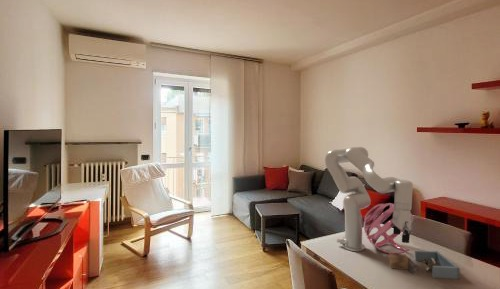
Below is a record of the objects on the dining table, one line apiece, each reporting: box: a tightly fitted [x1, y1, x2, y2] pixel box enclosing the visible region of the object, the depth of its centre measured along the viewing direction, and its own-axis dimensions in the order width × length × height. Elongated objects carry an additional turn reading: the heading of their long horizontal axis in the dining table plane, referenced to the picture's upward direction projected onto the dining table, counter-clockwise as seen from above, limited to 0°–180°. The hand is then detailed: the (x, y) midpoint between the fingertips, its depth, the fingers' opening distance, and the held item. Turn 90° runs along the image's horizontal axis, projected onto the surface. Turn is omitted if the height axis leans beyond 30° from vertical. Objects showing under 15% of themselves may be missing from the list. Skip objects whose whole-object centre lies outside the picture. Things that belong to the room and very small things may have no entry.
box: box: [414, 250, 461, 280], centre depth 131 cm, size 11×17×5 cm, turn 173°
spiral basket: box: [363, 202, 414, 255], centre depth 152 cm, size 28×28×27 cm
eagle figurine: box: [420, 257, 436, 271], centre depth 129 cm, size 8×7×9 cm
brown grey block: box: [388, 253, 417, 274], centre depth 133 cm, size 10×11×6 cm
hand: (400, 238), depth 133 cm, fingers open, 9 cm apart
